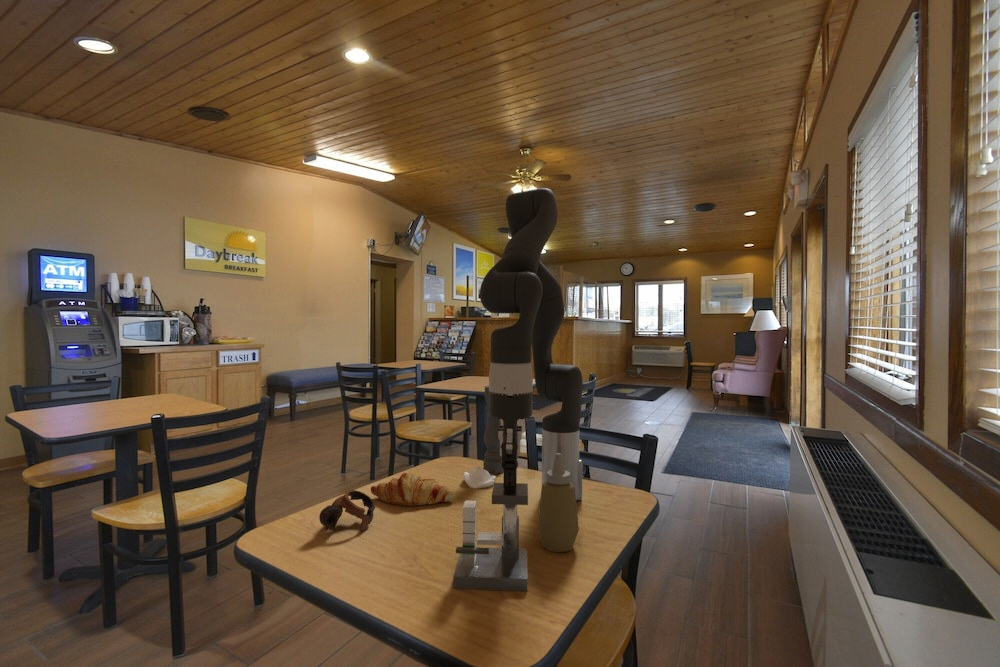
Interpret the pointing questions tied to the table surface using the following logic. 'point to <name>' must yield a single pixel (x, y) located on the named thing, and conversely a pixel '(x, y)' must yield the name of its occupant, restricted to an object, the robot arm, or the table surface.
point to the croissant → (412, 491)
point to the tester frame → (489, 561)
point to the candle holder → (492, 442)
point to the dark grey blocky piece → (506, 516)
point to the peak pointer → (472, 550)
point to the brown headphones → (348, 510)
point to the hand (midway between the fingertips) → (510, 488)
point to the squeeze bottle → (558, 509)
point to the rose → (479, 478)
